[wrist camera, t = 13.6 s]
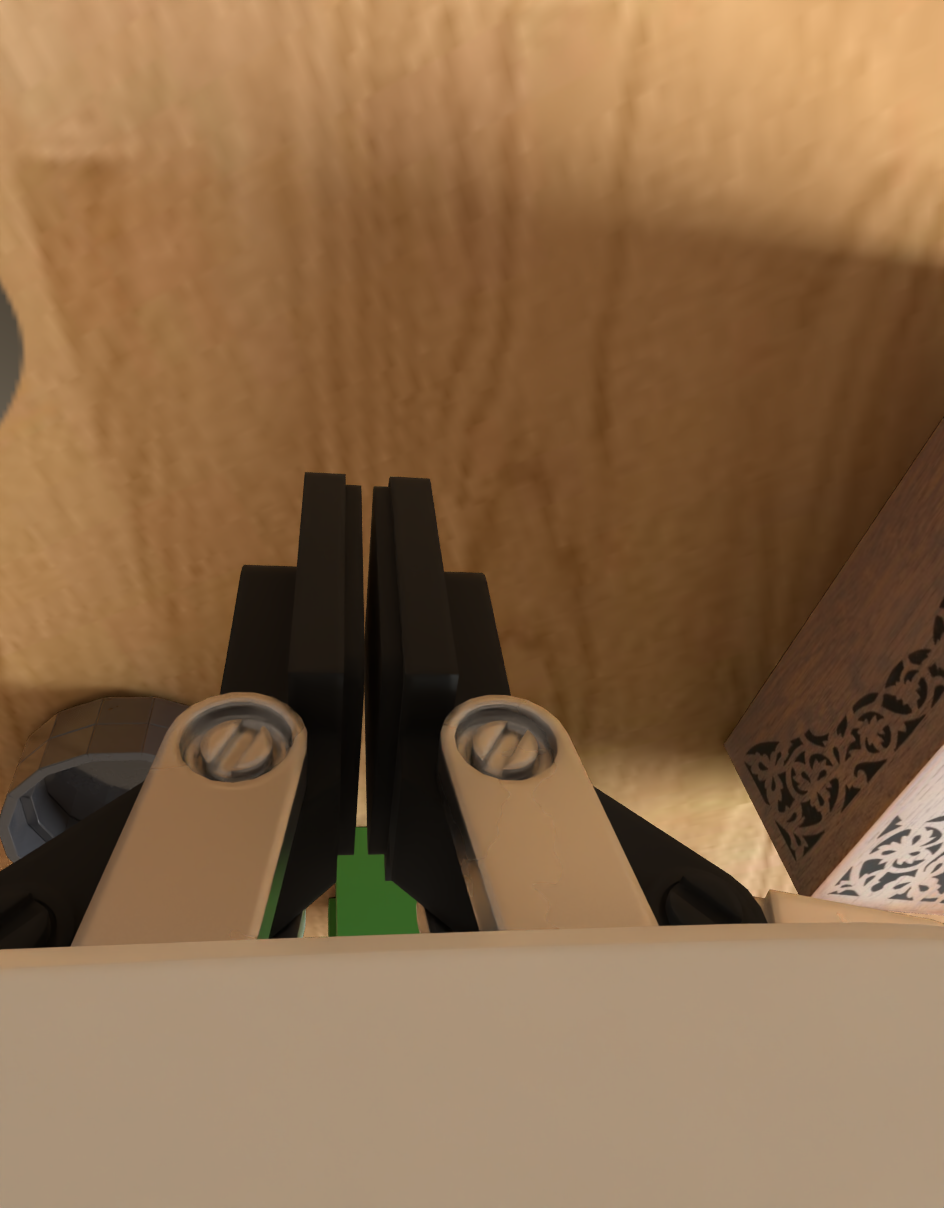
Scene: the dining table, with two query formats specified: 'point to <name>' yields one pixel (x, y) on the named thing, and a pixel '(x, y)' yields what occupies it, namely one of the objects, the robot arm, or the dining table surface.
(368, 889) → the hardback book
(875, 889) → the tissue box cover
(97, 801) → the ashtray
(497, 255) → the dining table surface
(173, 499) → the dining table surface
